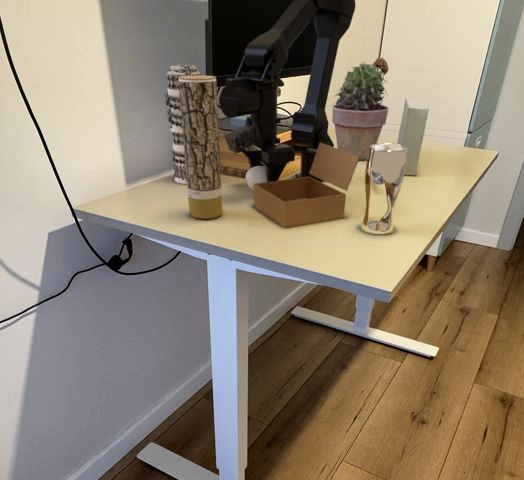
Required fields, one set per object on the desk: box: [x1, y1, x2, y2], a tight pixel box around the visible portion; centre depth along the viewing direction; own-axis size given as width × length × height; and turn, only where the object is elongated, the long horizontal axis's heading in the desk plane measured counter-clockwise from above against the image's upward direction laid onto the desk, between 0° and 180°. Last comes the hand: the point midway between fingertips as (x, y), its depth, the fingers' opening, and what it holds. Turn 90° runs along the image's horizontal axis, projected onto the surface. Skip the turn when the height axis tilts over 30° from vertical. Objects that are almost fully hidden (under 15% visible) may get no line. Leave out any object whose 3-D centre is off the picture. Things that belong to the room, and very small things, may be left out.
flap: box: [309, 143, 360, 192], centre depth 102 cm, size 14×7×1 cm
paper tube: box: [178, 75, 223, 220], centre depth 95 cm, size 7×7×25 cm
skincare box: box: [396, 97, 430, 176], centre depth 132 cm, size 21×5×16 cm, turn 168°
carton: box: [252, 177, 347, 229], centre depth 102 cm, size 15×14×5 cm
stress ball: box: [245, 166, 267, 191], centre depth 113 cm, size 8×8×7 cm
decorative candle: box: [164, 64, 203, 185], centre depth 117 cm, size 9×9×25 cm
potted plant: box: [325, 57, 392, 161], centre depth 138 cm, size 18×20×25 cm
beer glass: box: [360, 142, 407, 235], centre depth 91 cm, size 7×7×15 cm
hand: (263, 186), depth 113 cm, fingers closed on stress ball, 7 cm apart
